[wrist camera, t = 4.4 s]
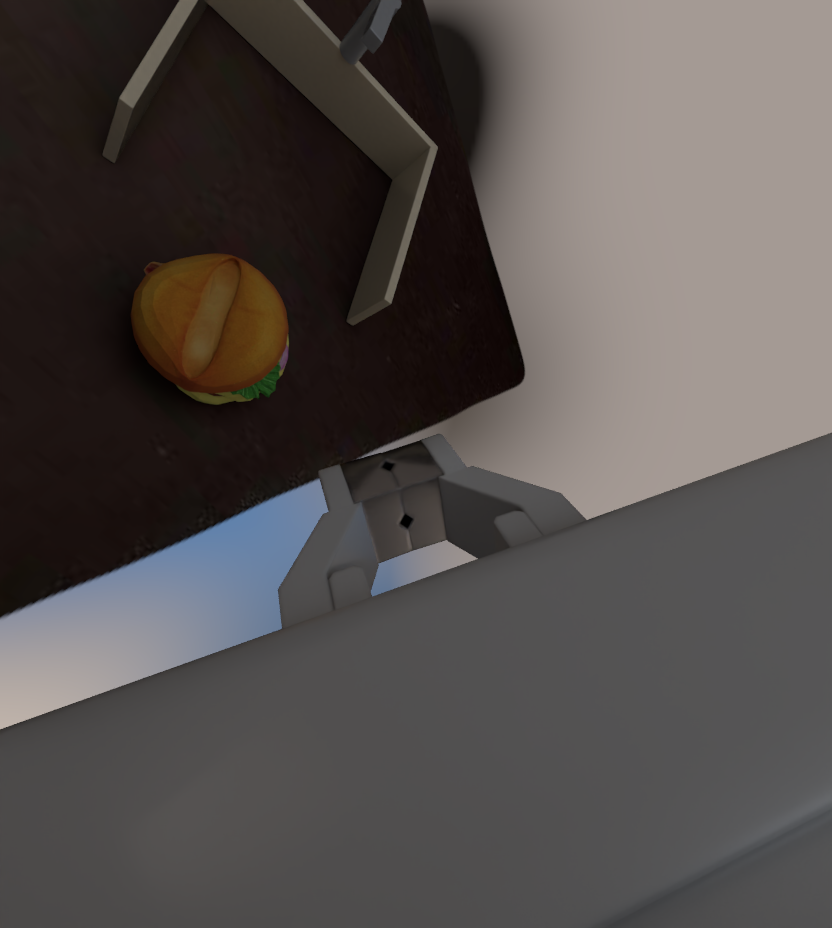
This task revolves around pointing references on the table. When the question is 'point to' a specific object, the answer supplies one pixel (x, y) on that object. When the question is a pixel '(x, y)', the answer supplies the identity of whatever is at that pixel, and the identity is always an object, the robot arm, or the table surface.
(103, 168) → the table surface
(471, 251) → the table surface
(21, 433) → the table surface
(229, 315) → the cheeseburger
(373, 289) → the grey u-shaped wall
